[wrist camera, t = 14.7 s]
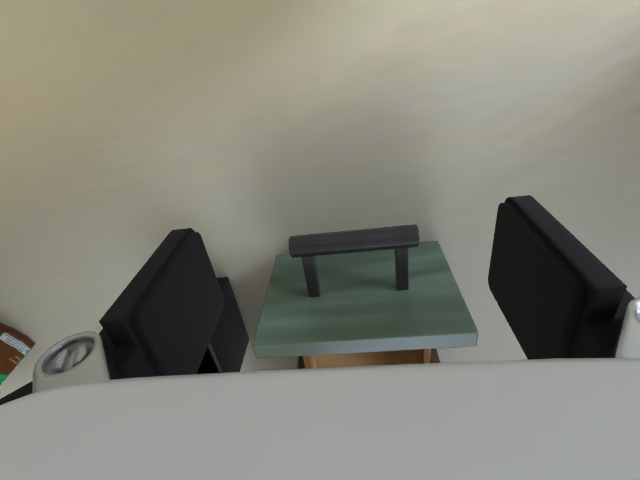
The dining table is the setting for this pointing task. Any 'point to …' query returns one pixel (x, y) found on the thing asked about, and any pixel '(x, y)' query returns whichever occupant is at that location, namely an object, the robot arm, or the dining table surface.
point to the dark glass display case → (226, 337)
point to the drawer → (362, 301)
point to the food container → (12, 349)
